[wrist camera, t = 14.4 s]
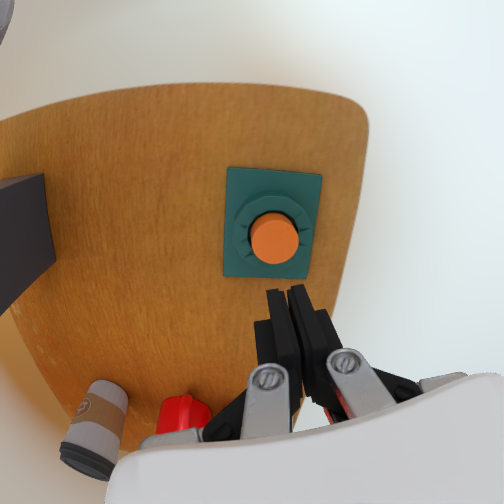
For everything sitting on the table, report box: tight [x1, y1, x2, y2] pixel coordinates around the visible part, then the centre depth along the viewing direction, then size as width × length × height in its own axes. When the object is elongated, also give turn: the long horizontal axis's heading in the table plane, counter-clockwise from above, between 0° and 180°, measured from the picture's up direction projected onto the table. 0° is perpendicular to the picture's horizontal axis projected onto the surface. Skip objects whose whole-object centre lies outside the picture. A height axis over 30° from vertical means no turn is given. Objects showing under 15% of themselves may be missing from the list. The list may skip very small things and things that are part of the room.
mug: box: [155, 394, 212, 435], centre depth 32 cm, size 8×12×8 cm, turn 170°
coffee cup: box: [59, 380, 128, 481], centre depth 28 cm, size 8×8×15 cm
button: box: [251, 213, 299, 264], centre depth 22 cm, size 4×4×2 cm
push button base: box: [223, 167, 322, 279], centre depth 23 cm, size 10×8×2 cm
